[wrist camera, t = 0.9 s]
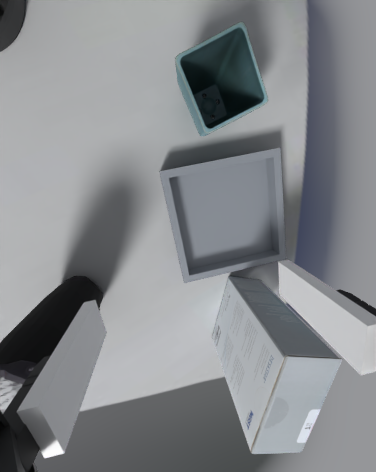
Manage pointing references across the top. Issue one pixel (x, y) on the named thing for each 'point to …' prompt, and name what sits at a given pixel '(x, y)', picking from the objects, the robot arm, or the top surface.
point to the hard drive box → (271, 366)
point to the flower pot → (220, 79)
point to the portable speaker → (41, 333)
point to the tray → (226, 213)
